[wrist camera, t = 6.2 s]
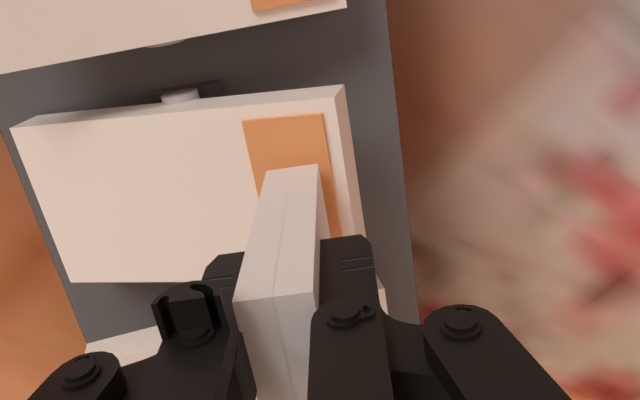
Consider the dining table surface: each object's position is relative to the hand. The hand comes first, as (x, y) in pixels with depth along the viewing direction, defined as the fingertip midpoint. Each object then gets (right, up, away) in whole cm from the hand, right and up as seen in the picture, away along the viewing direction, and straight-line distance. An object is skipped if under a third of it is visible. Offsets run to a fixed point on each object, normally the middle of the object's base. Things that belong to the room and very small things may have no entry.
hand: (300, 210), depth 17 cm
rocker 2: (-3, +1, +3) cm, 5 cm away
